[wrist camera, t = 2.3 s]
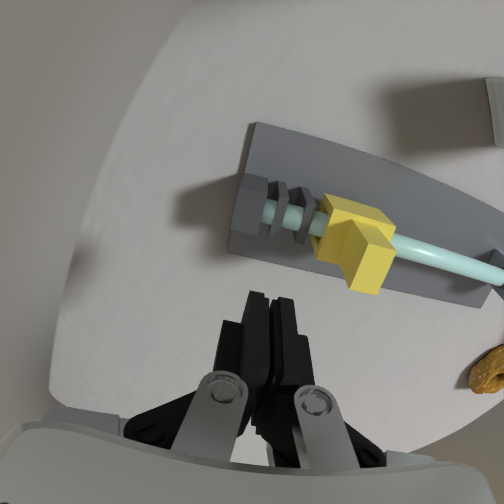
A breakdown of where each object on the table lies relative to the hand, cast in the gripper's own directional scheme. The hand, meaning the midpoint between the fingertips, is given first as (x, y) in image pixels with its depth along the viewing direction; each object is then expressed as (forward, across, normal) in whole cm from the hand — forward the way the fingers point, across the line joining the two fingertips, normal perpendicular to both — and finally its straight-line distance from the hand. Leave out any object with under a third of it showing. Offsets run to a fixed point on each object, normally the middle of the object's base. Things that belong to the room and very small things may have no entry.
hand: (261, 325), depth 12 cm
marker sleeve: (+14, -7, -1) cm, 16 cm away
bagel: (+17, -43, +15) cm, 49 cm away
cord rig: (+17, -13, -1) cm, 21 cm away
